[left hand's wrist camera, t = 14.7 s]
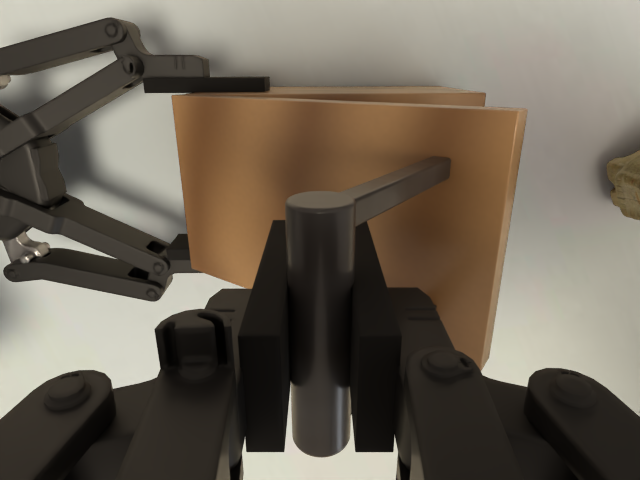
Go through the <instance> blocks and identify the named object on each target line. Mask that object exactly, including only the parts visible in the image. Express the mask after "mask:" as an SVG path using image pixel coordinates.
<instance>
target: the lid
mask: <svg viewBox="0 0 640 480" xmlns="http://www.w3.org/2000/svg"><path fill="white" fill-rule="evenodd" d="M172 104H173V113H174V121H175V130H176V138H177V147H178V156H179V164H180V173H181V181H182V190H183V199H184V207H185V216H186V225H187V233H188V242H189V250H190V259H191V268H192V269H195V270H198V271H200V272H203V273H206V274H209V275H211V276H214V277H217V278H220V279H222V280H225V281H228V282H231V283H233V284H236V285H239V286H242V287H244V288H247V289H252V287H253V284H254V281H255V277H256V274H257V271H258V268H259V264H260V261H261V258H262V254H263V251H264V248H265V245H266V241H267V238H268V235H269V232H270V228H271V225H272V222H273V220H285V222H286V252H287V281H288V309H289V342H290V373H291V405H292V435H293V440H294V442H295V444H296V446H297V447H298V448H299V449H300V450H301V451H302V452H304V453H305V454H307V455H310V456H314V457H329V456H332V455H335V454H337V453H339V452H340V451H342V450H343V449H344V448H345V446H346V445H347V443H348V441H349V439H350V420H351V414H352V408H351V397H350V351H351V315H352V285H353V283H354V267H355V229H356V226H358V225H360V224H362V223H364V222H366V221H367V223H368V226H369V230H370V233H371V236H372V239H373V243H374V246H375V249H376V252H377V256H378V259H379V262H380V266H381V269H382V272H383V275H384V279H385V282H386V285H387V287H418V288H419V289H420V290H422V291H423V292H424V293H426V294H427V295H428V296H429V297H430V298H431V300H432V302H433V304H434V306H435V310H437V312H438V314H439V317H440V320H441V321H442V323H443V325H444V327H445V329H446V331H447V333H448V335H449V337H450V340H451V342H452V344H453V346H454V348H455V350H457V351H460V352H463V353H464V354H466V355H467V356H469V357H470V358H471V359H473V360H474V362H475V363H476V364H477V366H478V367H479V369H480V371H481V370H482V369H483V367H484V365H485V363H486V362H487V360H488V358H489V354H490V348H491V341H492V335H493V329H494V322H495V316H496V309H497V303H498V297H499V290H500V284H501V277H502V271H503V265H504V258H505V252H506V245H507V239H508V232H509V226H510V220H511V213H512V207H513V200H514V194H515V188H516V181H517V175H518V168H519V162H520V156H521V149H522V143H523V136H524V130H525V124H526V117H527V111H528V110H527V109H526V108H503V107H480V106H456V105H433V104H409V103H385V102H362V101H338V100H314V99H291V98H267V97H244V96H220V95H196V94H185V95H172Z"/></svg>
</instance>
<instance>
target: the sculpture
mask: <svg viewBox="0 0 640 480" xmlns="http://www.w3.org/2000/svg"><path fill="white" fill-rule="evenodd" d="M607 176H608V179H609V180H610V181H611V182H612V183H613V184H614V186H615V187H614V188H613V189H612V190H611V198H612V201H613V204H614V205H615V206H618V207H620V209H621V212H622V213H623V215H624V216H626V217H630V218H633V219H636V220H640V150H639V151H637V152H635V153H634V154H631V155H629V156H626V157H623V158H619V157H618V158H615V159H613V160H611V161H609V162H608V164H607Z"/></svg>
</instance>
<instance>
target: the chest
mask: <svg viewBox="0 0 640 480" xmlns="http://www.w3.org/2000/svg"><path fill="white" fill-rule="evenodd" d="M189 94H196V95H220V96H244V97H267V98H291V99H314V100H338V101H362V102H385V103H409V104H433V105H456V106H480V107H484V105H485V97H486V94H485V93H482V92H476V91H469V90H462V89H455V88H448V87H441V86H349V87H270V90H268V91H266V92H194V93H189Z"/></svg>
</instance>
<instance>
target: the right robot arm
mask: <svg viewBox="0 0 640 480" xmlns="http://www.w3.org/2000/svg"><path fill="white" fill-rule="evenodd" d="M140 36H141V35H140V30H139V29H138V27H137V26H136V25H135V24H134V23H131V22H127V21H123V20H119V19H115V18H105V19H101V20H98V21H94V22H91V23H87V24H84V25H80V26H77V27H73V28H70V29H66V30H63V31H59V32H56V33H52V34H48V35H45V36H41V37H38V38H34V39H31V40H27V41H24V42H20V43H17V44H13V45H10V46H6V47H3V48H0V89H4V88H6V87H7V85H8V83H10V81H11V77H10V75H25V74H30V73H34V72H38V71H41V70H45V69H48V68H52V67H56V66H59V65H63V64H66V63H70V62H74V61H77V60H81V59H84V58H88V57H92V56H95V55H99V54H102V53H106V52H110V51H114V53H115V55H116V57H117V59H118V60H116V61H115V62H113V63H111V64H110V65H108V66H106V67H105V68H103V69H101V70H100V71H98V72H97V73H95V74H93V75H92V76H90V77H88V78H87V79H85V80H84V81H82V82H80V83H79V84H77V85H75V86H74V87H72V88H70V89H69V90H67V91H66V92H64V93H62V94H61V95H59V96H57V97H56V98H54V99H53V100H51V101H49V102H48V103H46V104H44V105H43V106H41V107H39V108H38V109H36V110H35V111H33V112H31V113H28V114H25V115H23V116H21V117H19V116H18V115H16V114H15V113H13V112H11V111H10V110H8V109H7V108H5V107H3V106H2V105H0V240H2V241H3V243H4V246H5V248H6V251H7V253H8V256H9V258H10V261H11V263H10V264H9V265H7V266H6V267H5V268H4V270H3V272H4V275H5V277H6V278H7V279H8V280H10V281H12V282H22V281H31V280H40V279H43V280H48V281H53V282H58V283H63V284H68V285H73V286H78V287H83V288H88V289H93V290H98V291H103V292H108V293H112V294H117V295H122V296H127V297H132V298H137V299H142V300H147V301H157V300H159V299H160V298H161V296H162V295H163V294H164V292H165V291H166V289H167V288H168V286H169V285H170V283H171V282H172V279H173V276H172V275H173V274H174V273H203V272H200V271H198V270H195V269H192V268H191V259H190V250H189V242H188V234H178V236H177V237H176V238H175V239H174V240H173V242H172V243H171V244H169V243H167V242H165V241H162V240H160V239H158V238H156V237H153V236H151V235H149V234H147V233H144V232H142V231H140V230H138V229H135V228H133V227H131V226H129V225H127V224H124V223H122V222H120V221H118V220H115V219H113V218H111V217H109V216H106V215H104V214H102V213H100V212H97V211H95V210H93V209H91V208H88V207H86V206H85V205H84V203H83V202H82V201H81V200H79V199H77V198H75V197H72V196H70V195H68V194H66V192H67V191H66V187H65V182H64V179H63V177H62V175H61V173H60V171H59V169H58V162H59V154H58V149H57V144H56V143H52V142H51V140H50V139H51V138H53V137H54V136H56V135H58V134H59V133H61V132H63V131H64V130H66V129H67V128H68V127H69V126H70V125H72V124H74V123H75V122H77V121H79V120H80V119H82V118H84V117H85V116H87V115H89V114H90V113H92V112H94V111H95V110H97V109H99V108H100V107H102V106H104V105H105V104H107V103H109V102H111V101H112V100H114V99H116V98H117V97H119V96H121V95H122V94H124V93H126V92H127V91H129V90H131V89H132V88H134V87H136V86H137V85H139V84H141V83H142V82H143V83H144V91H145V93H194V92H266V91H268V90H270V82H269V77H210V73H209V61H208V59H206V58H204V57H201V56H197V55H153V54H151V53H149V52H148V51H147V50H146V49H145V47H144V45H143V43H142V41H141V39H140ZM32 227H34V228H36V229H38V230H41V231H43V232H45V233H48V234H61V235H63V236H66V237H68V238H70V239H73V240H75V241H77V242H80V243H82V244H84V245H87V246H89V247H91V248H94V249H96V250H98V251H100V252H103V253H105V254H107V255H110V256H112V257H114V258H117V259H113V258H109V257H104V256H99V255H94V254H89V253H85V252H80V251H75V250H70V249H64V248H50V245H49V244H48V243H46V242H43V243H41V242H36V241H33V240H31V239H30V238H29V237H28V236H27V235H26V232H27V231H28V230H30V229H31V228H32ZM118 259H119V260H118Z"/></svg>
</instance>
